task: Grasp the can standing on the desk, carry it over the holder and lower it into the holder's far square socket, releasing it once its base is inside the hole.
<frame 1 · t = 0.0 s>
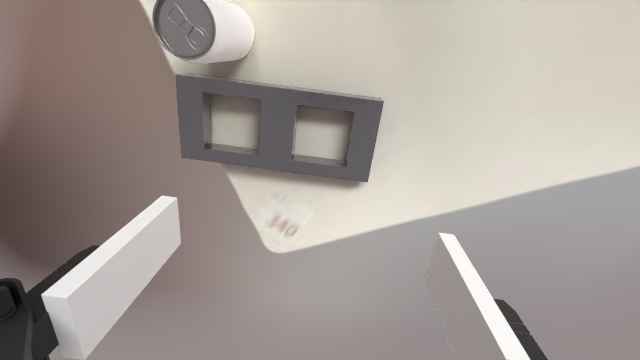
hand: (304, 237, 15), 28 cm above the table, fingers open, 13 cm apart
can: (230, 32, 37), on the table
holder: (280, 126, 42), on the table
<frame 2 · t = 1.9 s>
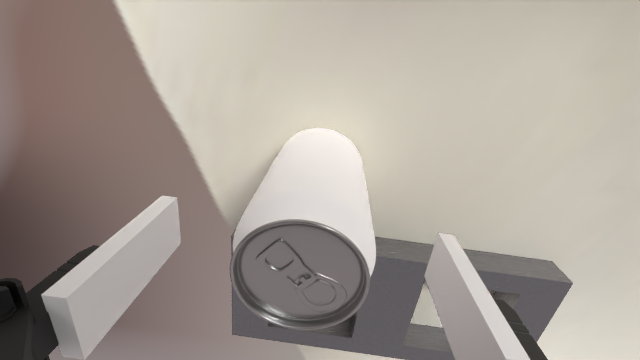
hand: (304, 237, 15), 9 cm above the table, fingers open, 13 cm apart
can: (320, 166, 23), on the table
holder: (382, 289, 27), on the table
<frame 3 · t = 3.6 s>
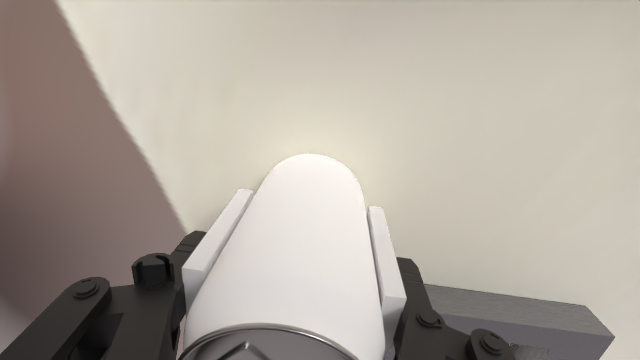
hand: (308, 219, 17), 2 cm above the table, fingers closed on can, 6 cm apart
can: (312, 197, 19), on the table, touching gripper
holder: (385, 335, 23), on the table
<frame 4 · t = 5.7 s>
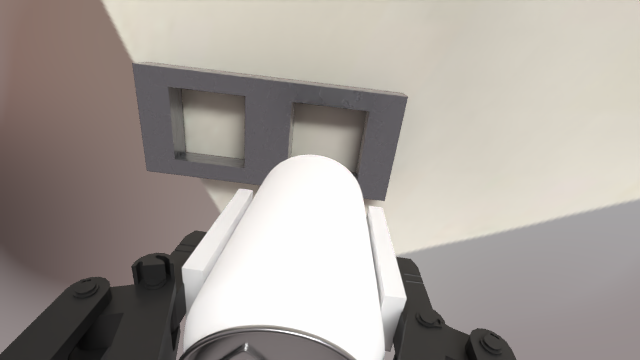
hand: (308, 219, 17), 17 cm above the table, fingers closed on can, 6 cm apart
can: (312, 198, 19), point 14 cm above the table, touching gripper
holder: (272, 130, 33), on the table
when the fingers open (4 cm above the table, at t = 8.1 s): can drops 2 cm, resting in holder.
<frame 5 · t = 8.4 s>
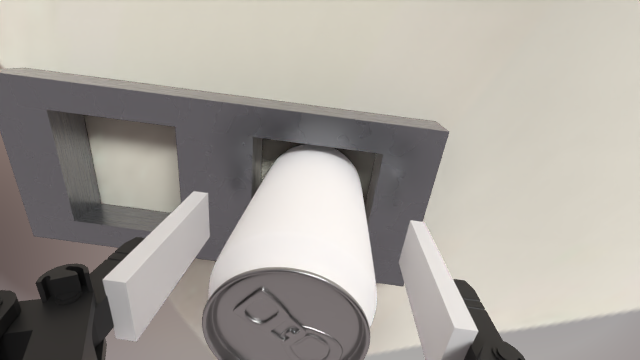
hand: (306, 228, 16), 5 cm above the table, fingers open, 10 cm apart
can: (314, 185, 21), resting in holder
holder: (229, 175, 21), on the table
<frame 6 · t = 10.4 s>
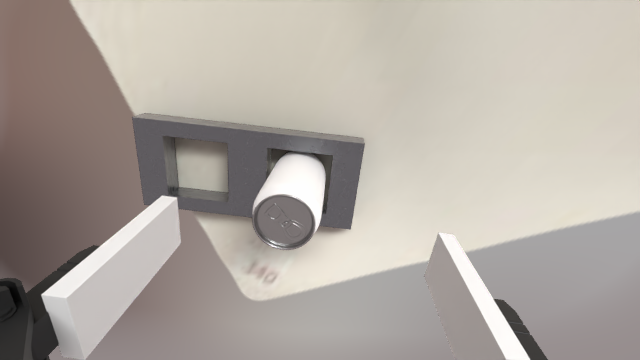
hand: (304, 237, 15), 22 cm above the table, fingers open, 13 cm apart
can: (300, 173, 38), resting in holder
holder: (252, 168, 38), on the table
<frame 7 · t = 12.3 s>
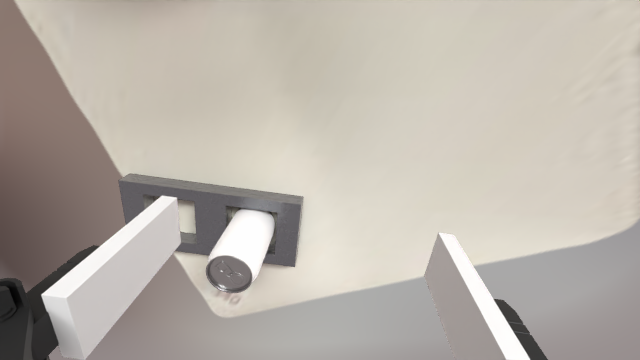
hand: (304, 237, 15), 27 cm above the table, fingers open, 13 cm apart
can: (255, 221, 47), resting in holder
holder: (217, 217, 47), on the table
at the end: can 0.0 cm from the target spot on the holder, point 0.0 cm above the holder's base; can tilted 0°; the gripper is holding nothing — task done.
